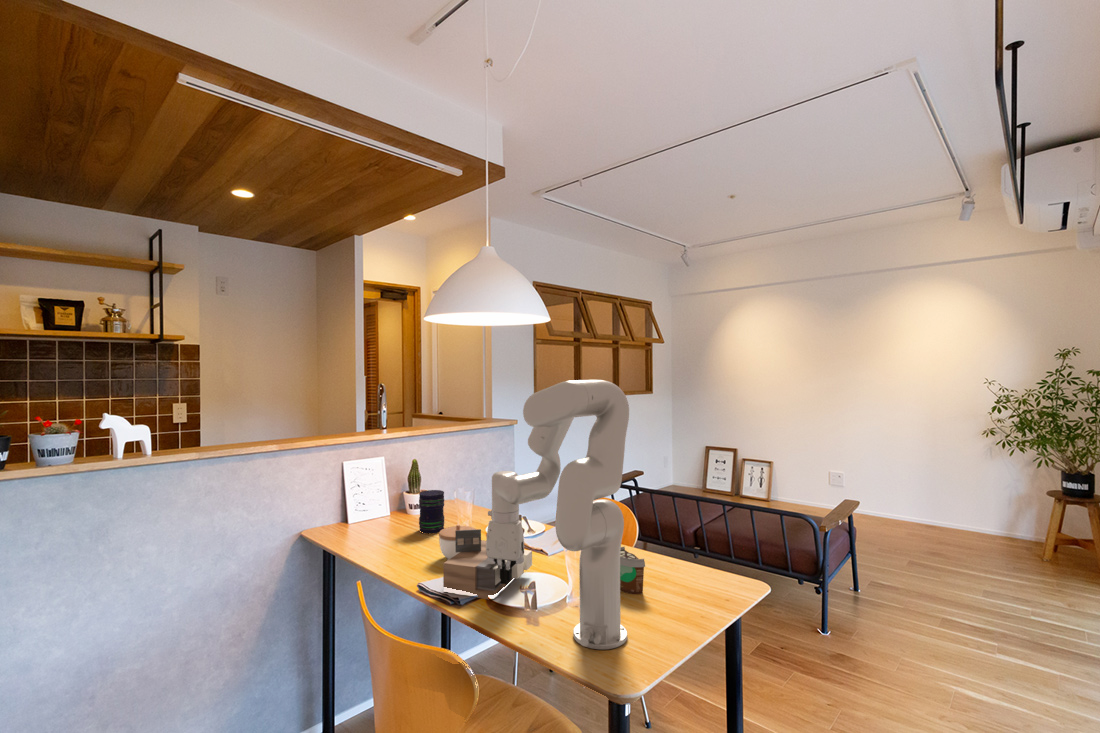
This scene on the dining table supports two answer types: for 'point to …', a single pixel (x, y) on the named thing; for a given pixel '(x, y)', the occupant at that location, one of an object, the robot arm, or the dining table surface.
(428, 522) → the storage jar
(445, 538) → the lidded bowl
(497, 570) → the button
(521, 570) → the button mid
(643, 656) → the dining table surface
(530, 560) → the button
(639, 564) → the food container
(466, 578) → the console
